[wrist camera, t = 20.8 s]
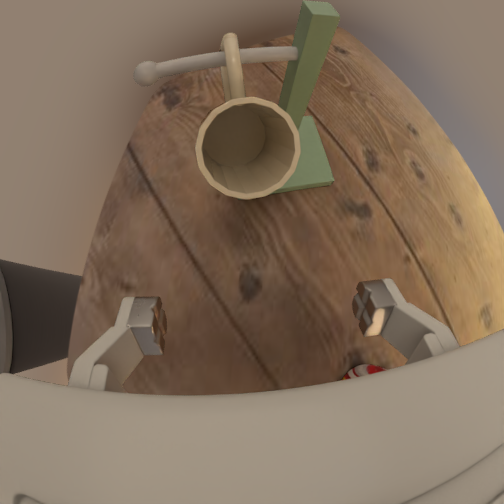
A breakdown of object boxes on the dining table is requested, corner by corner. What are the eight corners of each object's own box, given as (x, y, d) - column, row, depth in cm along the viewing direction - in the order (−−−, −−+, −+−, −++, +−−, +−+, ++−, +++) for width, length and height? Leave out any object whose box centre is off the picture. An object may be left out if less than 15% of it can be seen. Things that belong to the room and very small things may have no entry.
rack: (180, 211, 33) (107, 81, 11) (172, 141, 35) (123, -1, 12) (330, 185, 35) (428, 64, 13) (309, 121, 36) (364, -11, 14)
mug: (270, 163, 27) (303, 190, 19) (204, 173, 27) (205, 207, 18) (256, 51, 22) (285, 22, 13) (186, 60, 21) (177, 33, 13)
